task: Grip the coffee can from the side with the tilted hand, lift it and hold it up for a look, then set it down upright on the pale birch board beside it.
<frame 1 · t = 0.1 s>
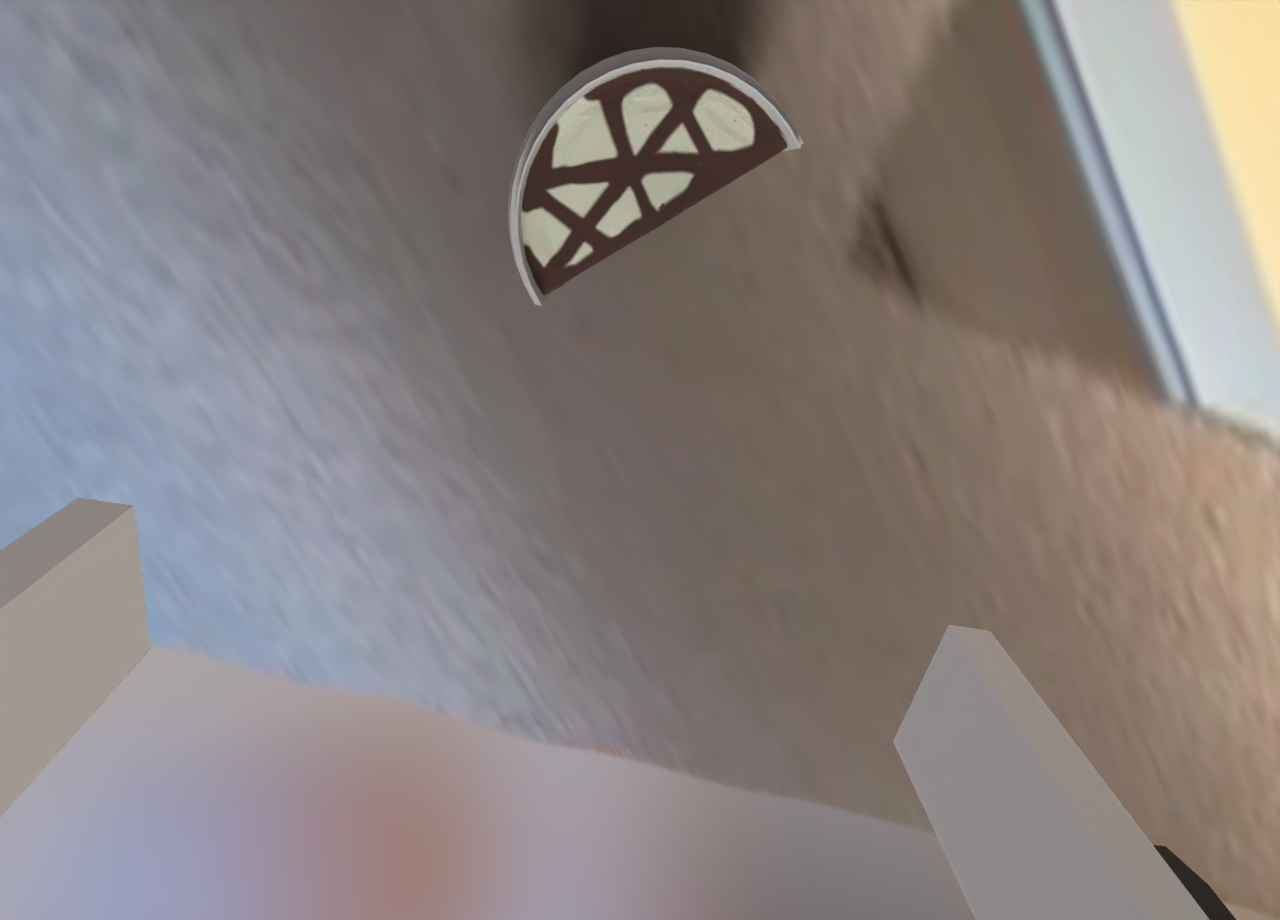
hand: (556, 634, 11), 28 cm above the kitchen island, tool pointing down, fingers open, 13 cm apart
food container: (621, 148, 34), on the kitchen island
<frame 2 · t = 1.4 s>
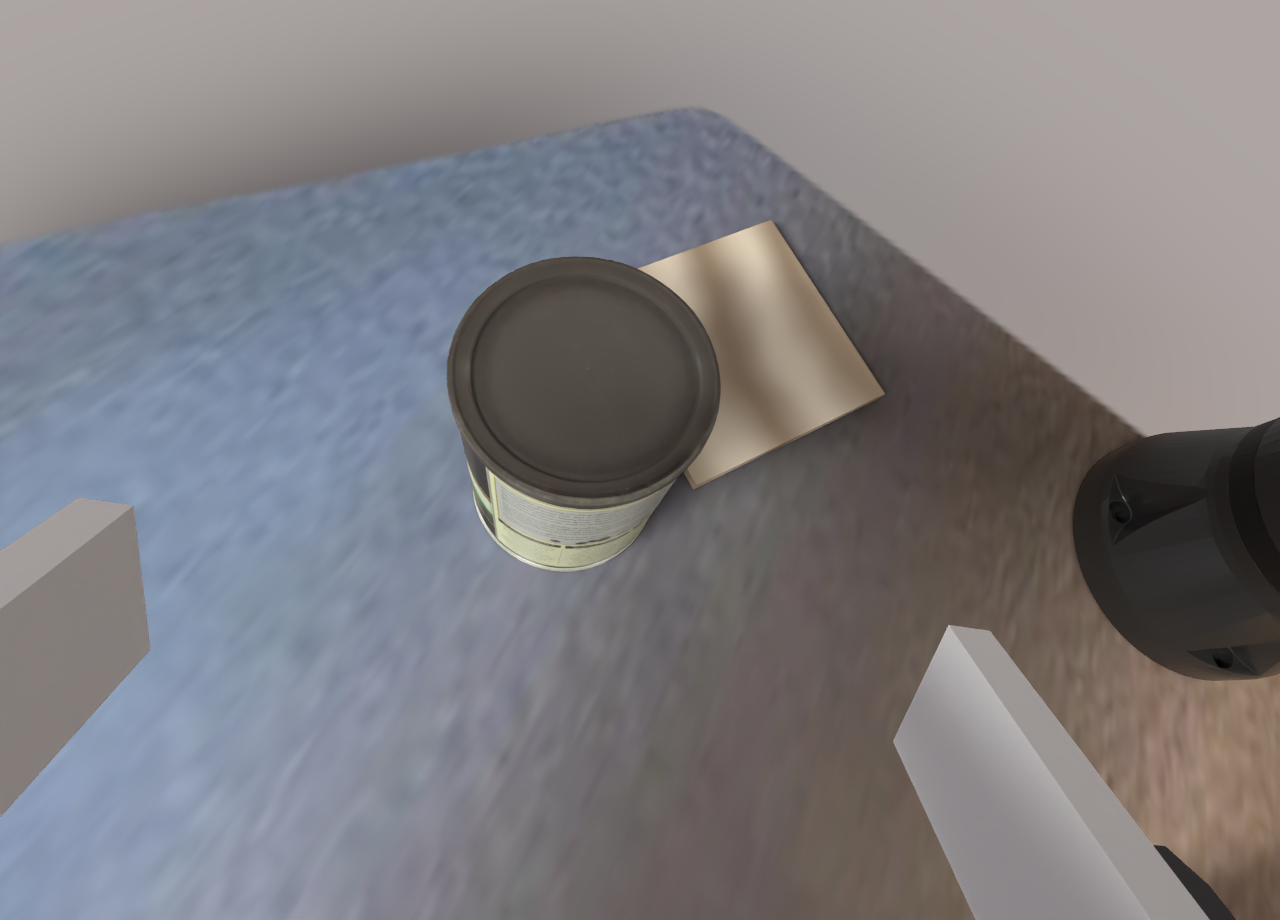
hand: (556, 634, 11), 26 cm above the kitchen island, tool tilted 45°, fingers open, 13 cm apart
birch board: (733, 347, 44), on the kitchen island
coffee can: (564, 484, 39), on the kitchen island
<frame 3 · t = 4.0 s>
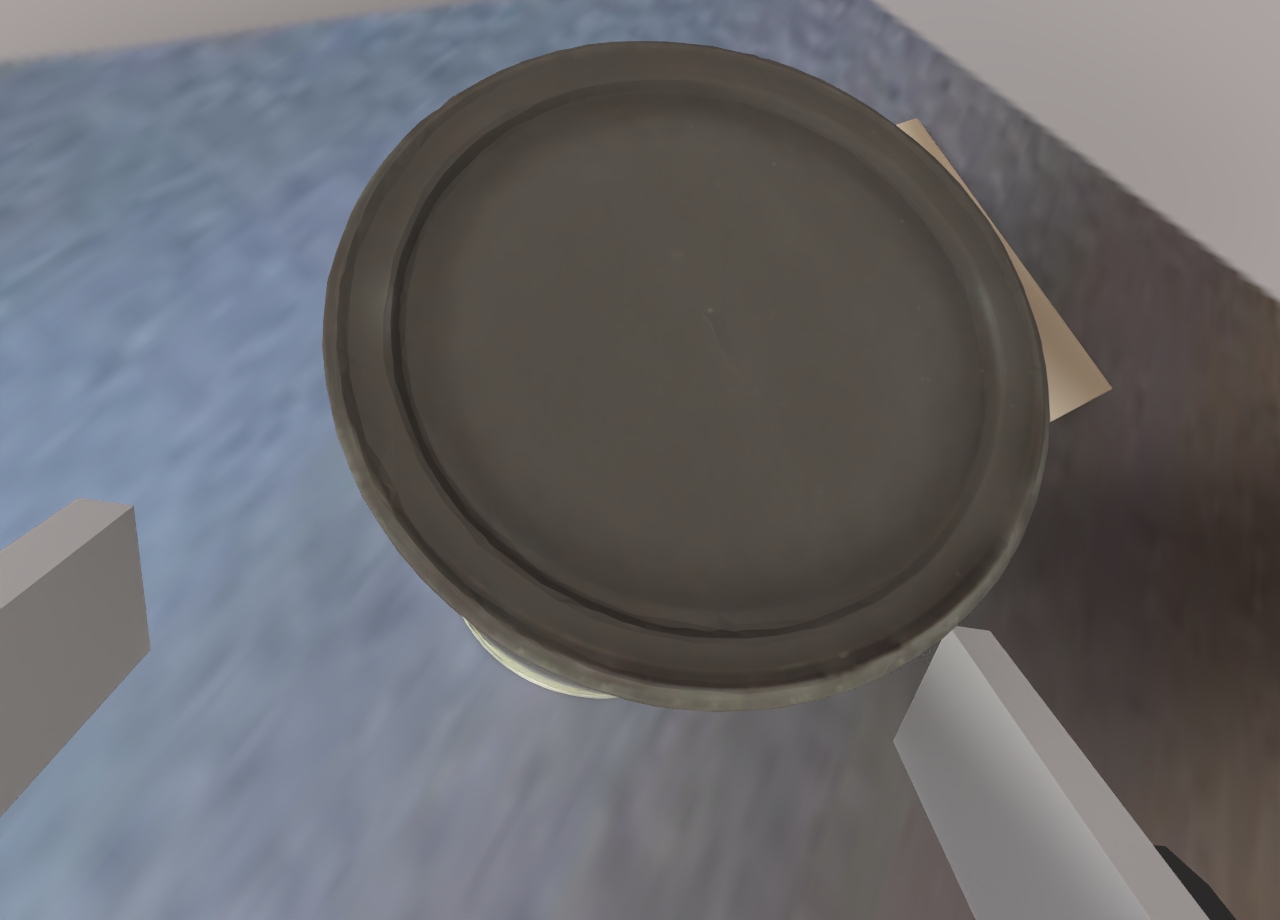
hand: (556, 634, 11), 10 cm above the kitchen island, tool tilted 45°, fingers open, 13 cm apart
birch board: (868, 312, 27), on the kitchen island
coffee can: (602, 538, 23), on the kitchen island
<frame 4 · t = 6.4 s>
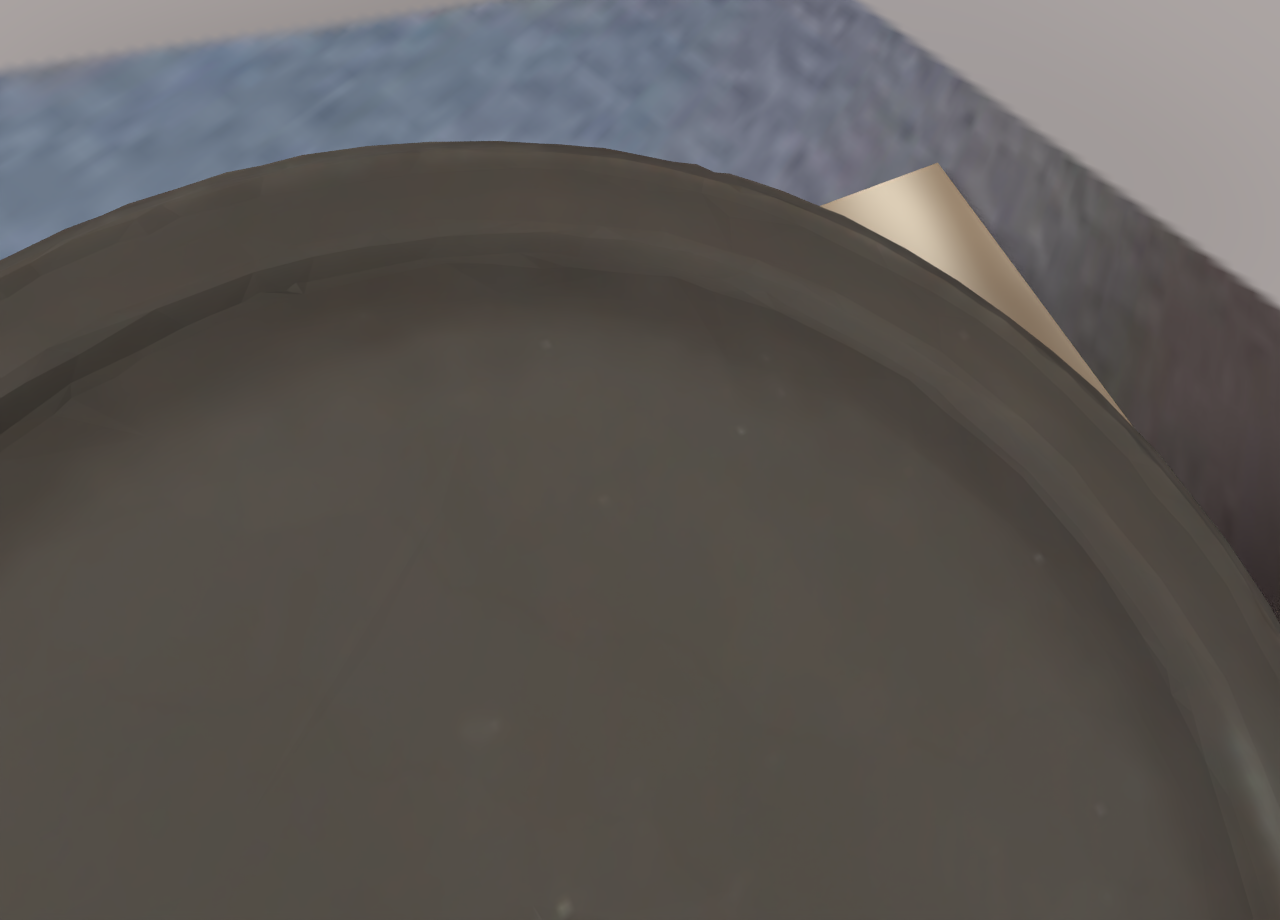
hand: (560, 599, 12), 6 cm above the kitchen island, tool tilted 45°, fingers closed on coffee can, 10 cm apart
birch board: (882, 418, 21), on the kitchen island
coffee can: (527, 759, 17), on the kitchen island, touching gripper
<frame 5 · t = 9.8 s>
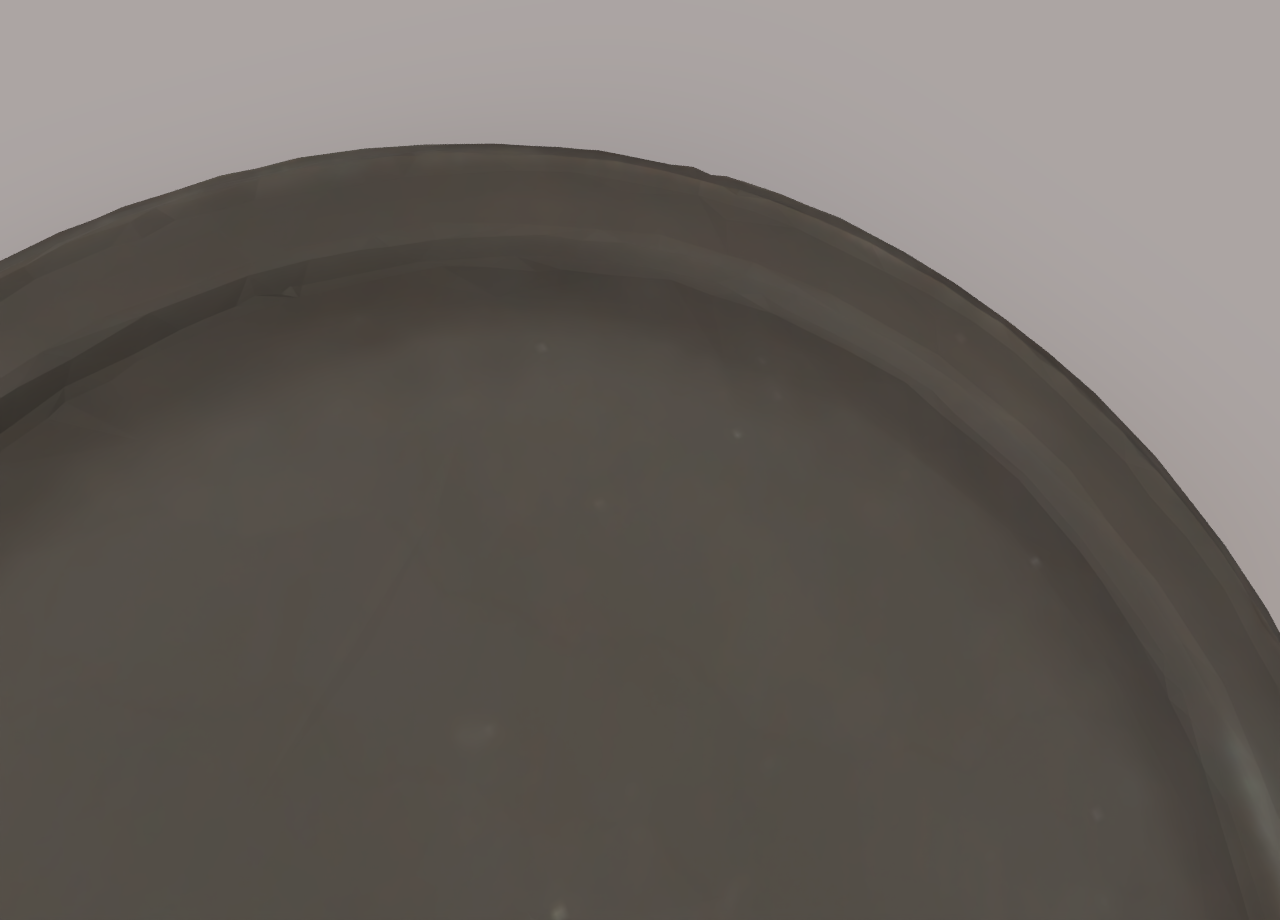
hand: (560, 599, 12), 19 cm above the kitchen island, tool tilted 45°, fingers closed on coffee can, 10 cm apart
coffee can: (526, 760, 17), point 13 cm above the kitchen island, touching gripper
when the fingers open (8 cm above the kitchen island, at t = 13.4 s): coffee can drops 1 cm, resting on birch board.
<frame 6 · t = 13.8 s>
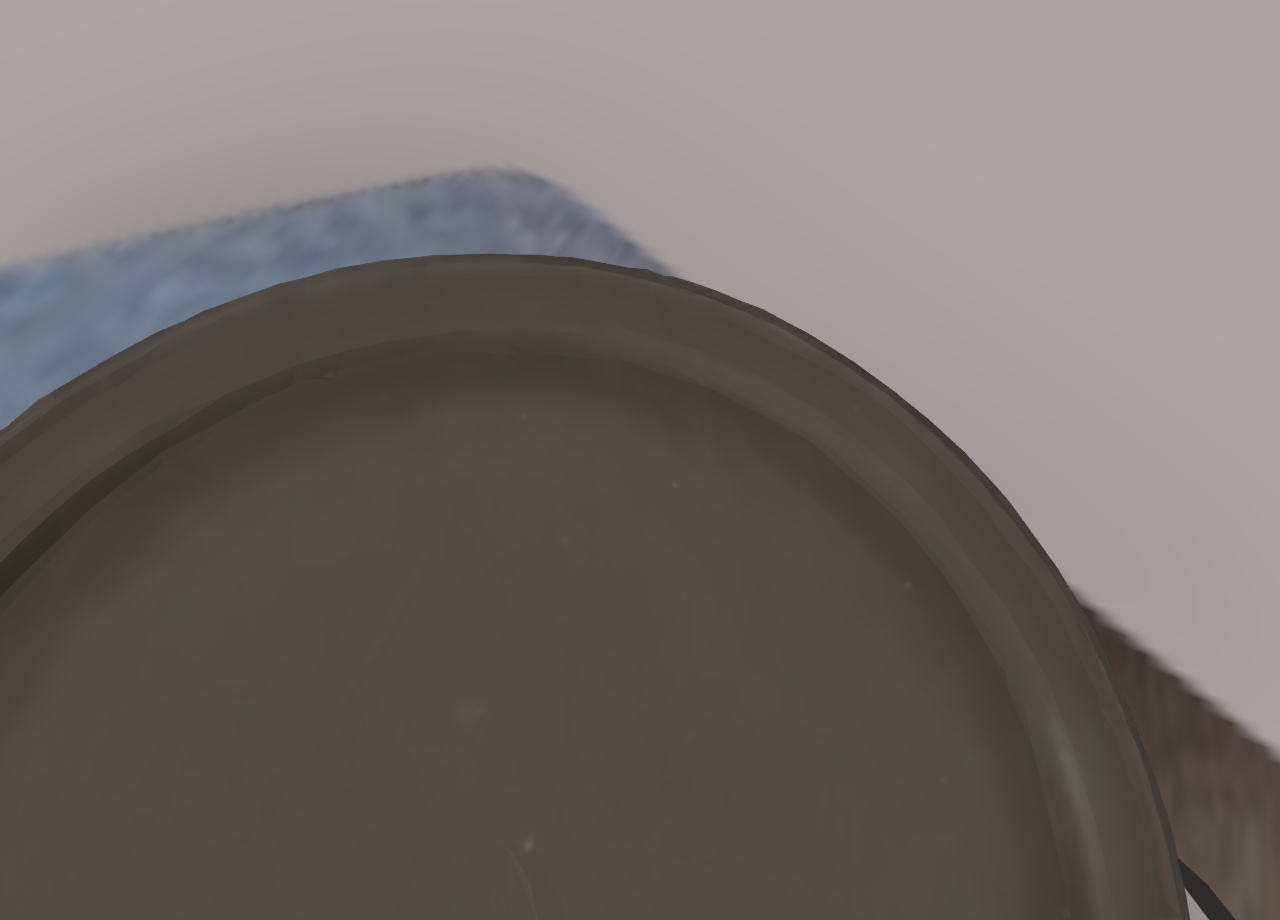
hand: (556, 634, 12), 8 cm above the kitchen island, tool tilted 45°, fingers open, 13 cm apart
coffee can: (518, 761, 18), point 1 cm above the kitchen island, touching birch board
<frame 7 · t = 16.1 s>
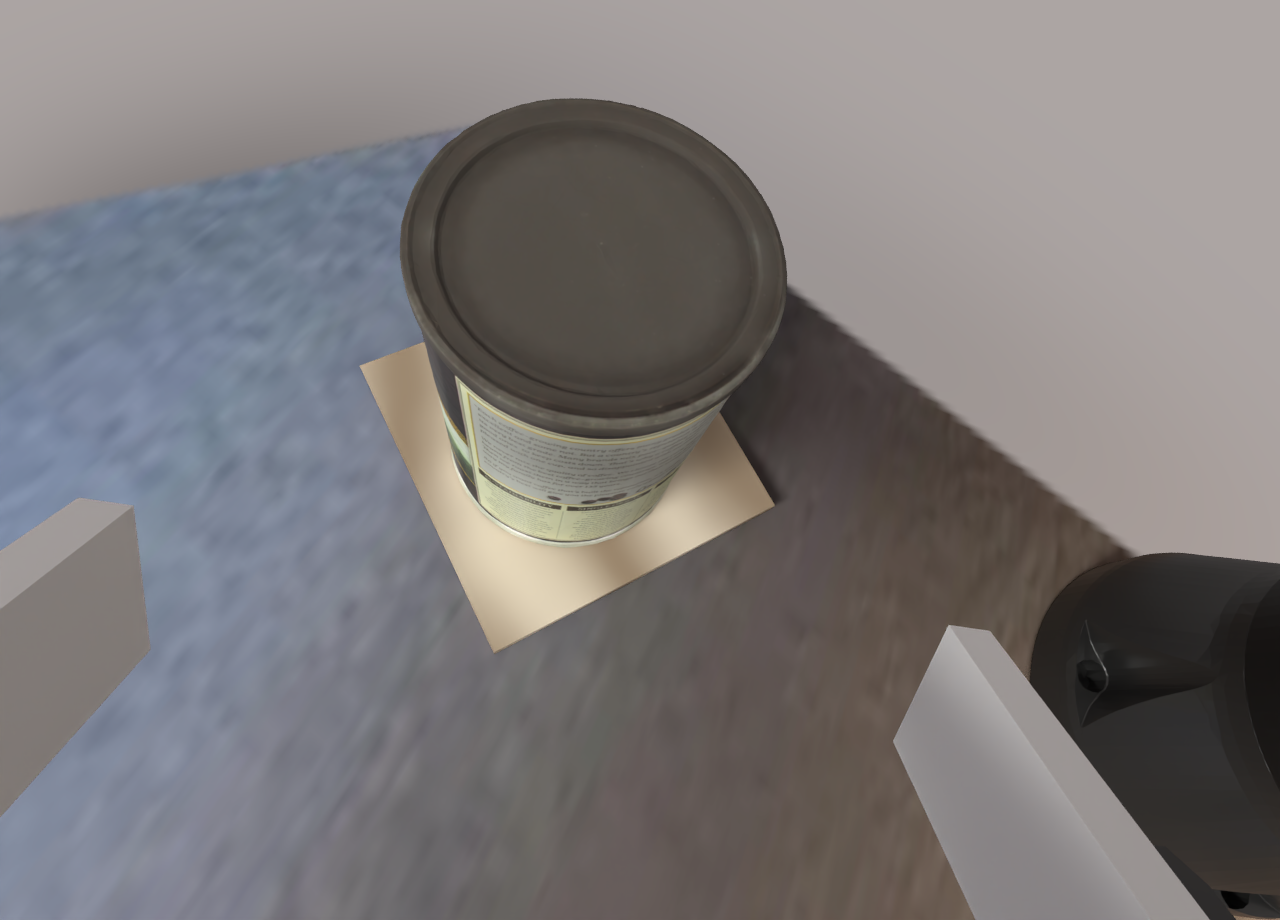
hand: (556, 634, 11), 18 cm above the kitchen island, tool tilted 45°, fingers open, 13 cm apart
birch board: (569, 443, 32), on the kitchen island
coffee can: (566, 440, 32), point 1 cm above the kitchen island, touching birch board
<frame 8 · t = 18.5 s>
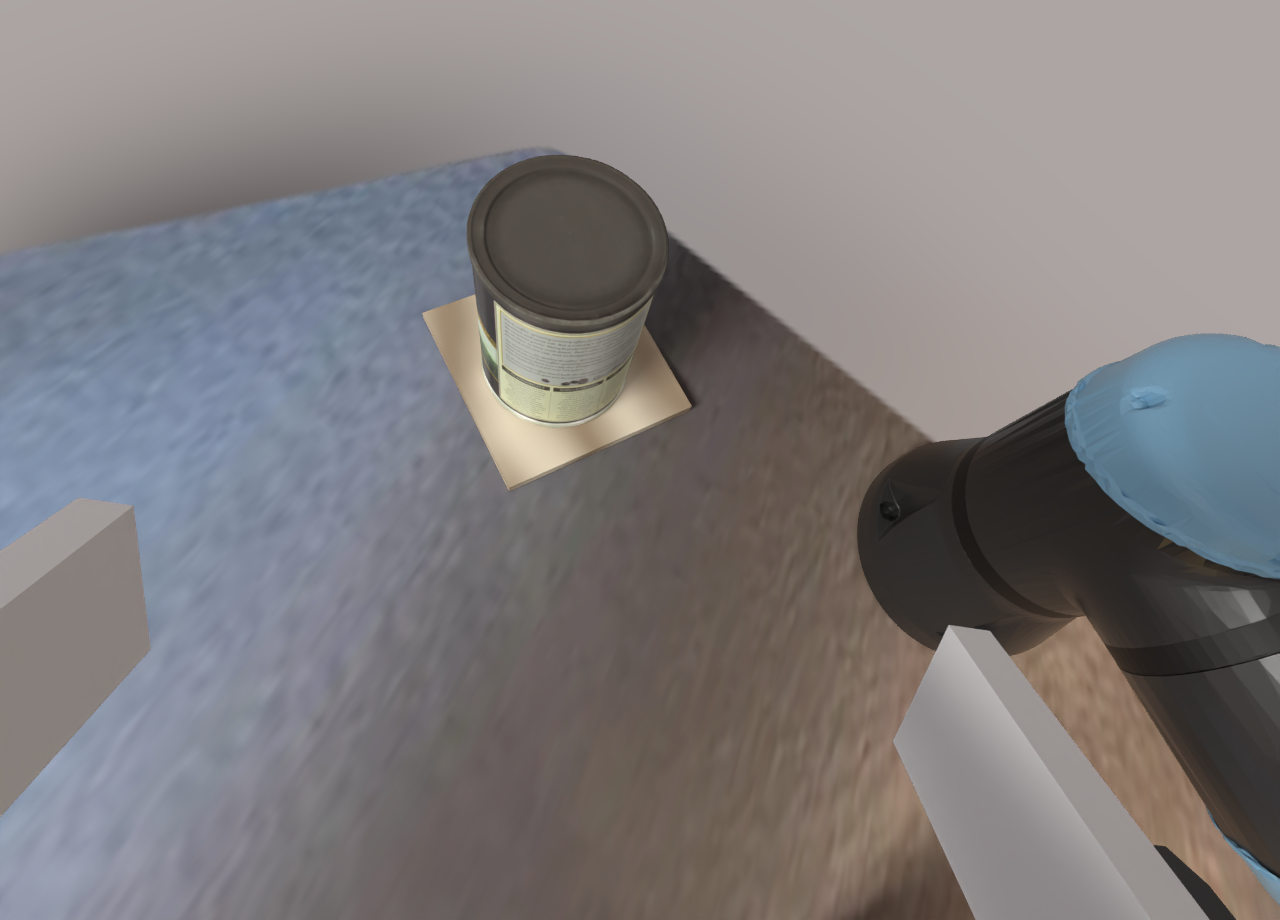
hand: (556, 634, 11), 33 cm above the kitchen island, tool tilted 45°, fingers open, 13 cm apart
birch board: (558, 365, 49), on the kitchen island
coffee can: (555, 363, 49), point 1 cm above the kitchen island, touching birch board
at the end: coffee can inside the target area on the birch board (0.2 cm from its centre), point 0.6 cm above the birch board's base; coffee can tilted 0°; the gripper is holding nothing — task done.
